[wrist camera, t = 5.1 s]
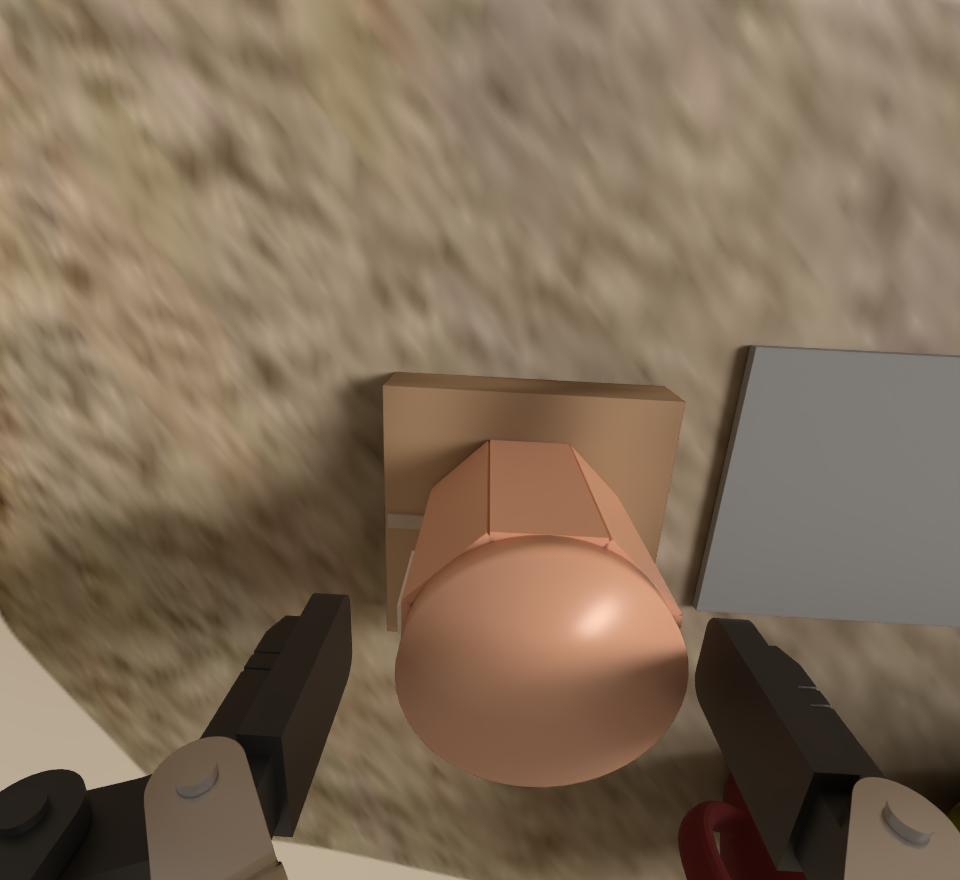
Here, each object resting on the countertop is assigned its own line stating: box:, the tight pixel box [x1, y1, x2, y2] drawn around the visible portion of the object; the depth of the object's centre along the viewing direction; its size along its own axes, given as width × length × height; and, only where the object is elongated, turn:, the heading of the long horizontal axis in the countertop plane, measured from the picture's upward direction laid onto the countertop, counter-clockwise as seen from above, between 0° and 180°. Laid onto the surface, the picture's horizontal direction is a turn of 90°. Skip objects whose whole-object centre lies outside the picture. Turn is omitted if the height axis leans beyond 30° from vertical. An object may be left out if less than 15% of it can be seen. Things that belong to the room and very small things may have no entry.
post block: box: [383, 372, 685, 632], centre depth 15 cm, size 9×9×7 cm
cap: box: [395, 440, 688, 787], centre depth 13 cm, size 6×6×6 cm
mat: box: [693, 345, 960, 627], centre depth 18 cm, size 10×10×1 cm
